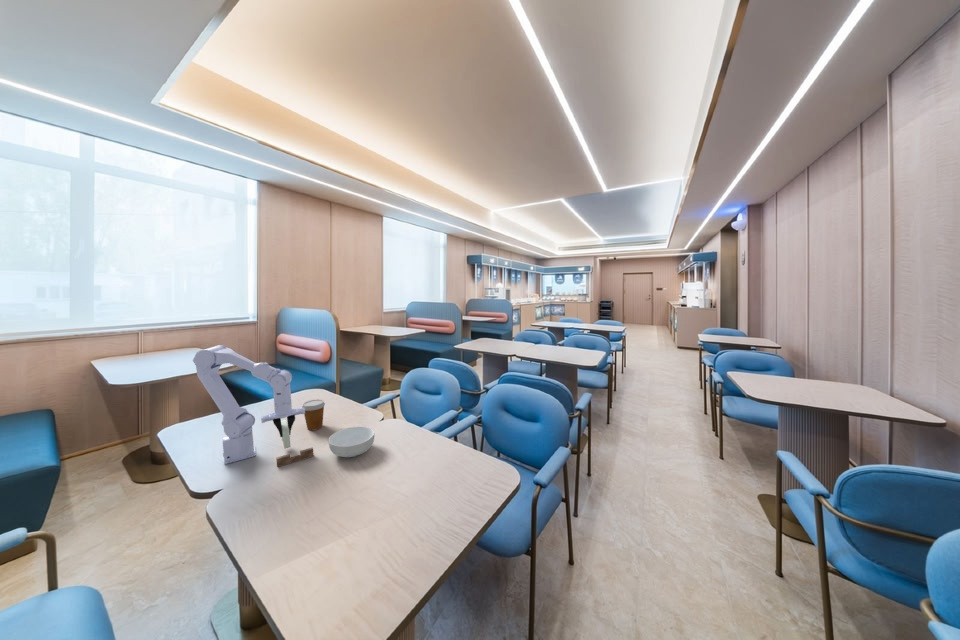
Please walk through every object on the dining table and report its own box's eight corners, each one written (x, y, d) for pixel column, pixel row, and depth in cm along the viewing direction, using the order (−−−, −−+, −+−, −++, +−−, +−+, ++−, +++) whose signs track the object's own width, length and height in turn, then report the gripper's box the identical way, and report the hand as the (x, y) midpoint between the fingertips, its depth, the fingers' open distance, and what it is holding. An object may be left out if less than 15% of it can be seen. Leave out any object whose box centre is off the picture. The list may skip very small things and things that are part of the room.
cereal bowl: (359, 466, 115) (358, 448, 114) (319, 461, 118) (318, 443, 117) (382, 443, 131) (382, 427, 131) (347, 440, 135) (346, 424, 134)
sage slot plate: (290, 447, 121) (289, 429, 120) (284, 448, 120) (283, 431, 119) (287, 435, 130) (285, 419, 130) (281, 436, 129) (280, 420, 128)
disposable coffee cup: (319, 432, 142) (318, 406, 141) (298, 432, 142) (297, 406, 141) (330, 422, 152) (328, 399, 150) (310, 422, 152) (308, 399, 151)
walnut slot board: (277, 467, 115) (276, 459, 115) (276, 465, 116) (276, 457, 116) (313, 456, 122) (313, 448, 122) (313, 454, 123) (312, 447, 123)
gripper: (260, 409, 116) (263, 444, 117) (305, 400, 124) (307, 433, 126) (260, 403, 121) (262, 437, 123) (302, 396, 130) (304, 427, 131)
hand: (285, 435), depth 125 cm, fingers closed on sage slot plate, 2 cm apart
